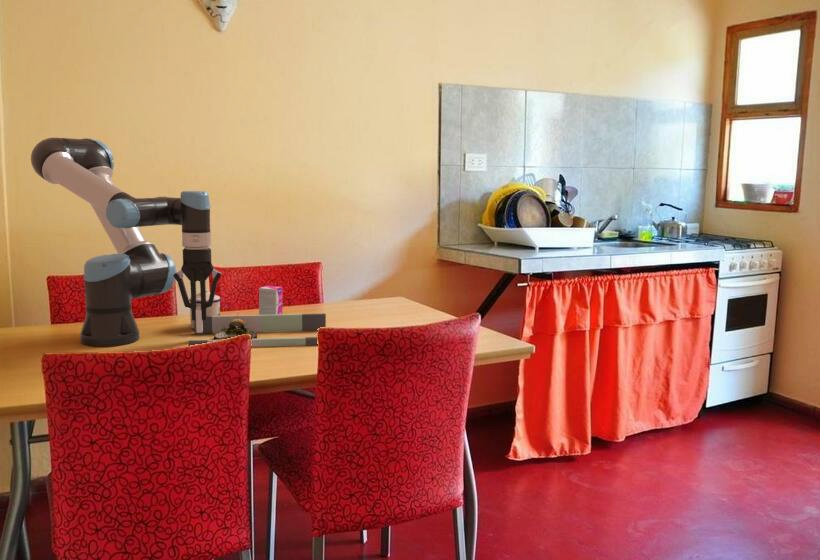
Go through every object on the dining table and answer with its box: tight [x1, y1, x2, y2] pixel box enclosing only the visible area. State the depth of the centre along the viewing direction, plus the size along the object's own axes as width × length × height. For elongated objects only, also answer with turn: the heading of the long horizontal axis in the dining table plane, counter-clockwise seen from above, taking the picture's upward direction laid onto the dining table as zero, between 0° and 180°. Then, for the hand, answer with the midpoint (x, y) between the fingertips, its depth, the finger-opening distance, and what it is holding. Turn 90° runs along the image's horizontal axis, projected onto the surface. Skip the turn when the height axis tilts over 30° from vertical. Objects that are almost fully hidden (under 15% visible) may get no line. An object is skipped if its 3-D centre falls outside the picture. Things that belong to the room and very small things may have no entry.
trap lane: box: [188, 312, 327, 348], centre depth 204 cm, size 38×18×5 cm, turn 102°
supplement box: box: [258, 285, 284, 315], centre depth 224 cm, size 6×6×12 cm
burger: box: [213, 319, 258, 340], centre depth 203 cm, size 12×12×8 cm
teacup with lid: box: [189, 288, 221, 330], centre depth 218 cm, size 12×9×12 cm
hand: (199, 331), depth 201 cm, fingers closed
